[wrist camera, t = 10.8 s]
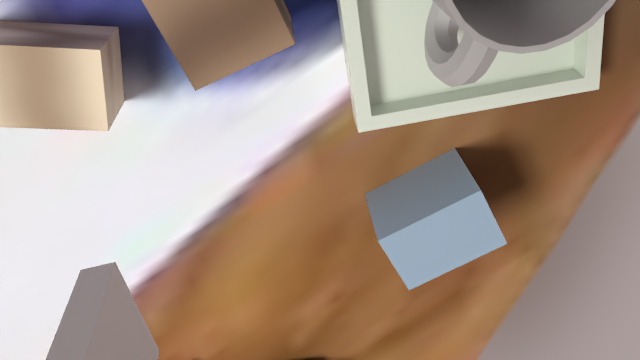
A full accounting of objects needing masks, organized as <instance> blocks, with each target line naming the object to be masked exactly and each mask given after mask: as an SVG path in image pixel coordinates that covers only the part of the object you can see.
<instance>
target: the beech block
mask: <svg viewBox="0 0 640 360" xmlns="http://www.w3.org/2000/svg"><path fill="white" fill-rule="evenodd" d="M124 101H125V99H124V87H123V75H122V63H121V51H120V40H119V28H118V27H110V26H92V25H73V24H55V23H36V22H18V21H0V127H13V128H40V129H67V130H94V131H109V129H110V127H111V125H112V123H113V122H114V120H115V118H116V116H117V114H118V112H119V110H120V109H121V107H122V105H123V103H124Z"/></svg>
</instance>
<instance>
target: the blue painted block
mask: <svg viewBox="0 0 640 360" xmlns="http://www.w3.org/2000/svg"><path fill="white" fill-rule="evenodd" d="M365 197H366V201H367V204H368V208H369V212H370V215H371V219H372V222H373V226H374V229H375V233H376V236H377V240H378V242H379V244H380V245H381V247H382V248H383V250H384V252H385V253H386V255H387V256H388V258H389V259H390V261H391V263H392V264H393V266H394V267H395V269H396V271H397V272H398V274H399V275H400V277H401V278H402V280H403V282H404V283H405V285H406V286H407V288H408V289H409V290H411V289H413V288H415V287H417V286H419V285H421V284H423V283H425V282H427V281H430V280H432V279H434V278H436V277H438V276H440V275H442V274H444V273H446V272H449V271H451V270H453V269H455V268H457V267H459V266H461V265H463V264H465V263H468V262H470V261H472V260H474V259H476V258H478V257H480V256H482V255H484V254H486V253H489V252H491V251H493V250H495V249H497V248H499V247H501V246H503V245H505V244H507V242H506V240H505V238H504V236H503V234H502V232H501V230H500V228H499V226H498V224H497V222H496V220H495V218H494V216H493V214H492V212H491V210H490V208H489V206H488V204H487V202H486V200H485V198H484V195H483V193H482V191H481V190H480V188H479V186H478V185H477V183H476V181H475V180H474V178H473V177H472V175H471V173H470V172H469V170H468V169H467V167H466V165H465V164H464V162H463V160H462V159H461V157H460V156H459V154H458V152H457V151H456V149H455V148H454V149H452V150H450V151H448V152H446V153H444V154H442V155H440V156H438V157H436V158H434V159H432V160H430V161H428V162H426V163H424V164H422V165H421V166H419V167H417V168H415V169H413V170H411V171H409V172H407V173H405V174H403V175H401V176H399V177H397V178H395V179H393V180H391V181H389V182H387V183H385V184H383V185H382V186H380V187H378V188H376V189H374V190H372V191H370V192H368V193H366V194H365Z"/></svg>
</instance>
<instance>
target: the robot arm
mask: <svg viewBox="0 0 640 360" xmlns="http://www.w3.org/2000/svg"><path fill="white" fill-rule="evenodd" d="M158 355H159V349H158V347H157V345H156V343H155V341H154V339H153V337H152V335H151V333H150V331H149V329H148V327H147V325H146V323H145V321H144V319H143V317H142V315H141V313H140V311H139V309H138V307H137V305H136V303H135V301H134V299H133V297H132V295H131V293H130V291H129V289H128V287H127V285H126V283H125V281H124V279H123V277H122V275H121V273H120V271H119V269H118V267H117V265H116V263H115V262H114V263H109V264H105V265H101V266H96V267H92V268H87V269H83V270H81V271H80V273H79V276H78V279H77V281H76V284H75V286H74V289H73V291H72V294H71V296H70V299H69V302H68V304H67V307H66V309H65V312H64V314H63V317H62V319H61V322H60V325H59V327H58V330H57V332H56V335H55V337H54V340H53V342H52V345H51V348H50V350H49V353H48V355H47V358H46V360H158Z"/></svg>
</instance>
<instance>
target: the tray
mask: <svg viewBox="0 0 640 360" xmlns="http://www.w3.org/2000/svg"><path fill="white" fill-rule="evenodd" d="M432 3H433V1H432V0H337V6H338V13H339V20H340V27H341V34H342V40H343V47H344V54H345V61H346V68H347V75H348V82H349V89H350V96H351V103H352V110H353V117H354V120H355V123H356V127H357V130H358V133H360V132H365V131H371V130H376V129H382V128H387V127H393V126H398V125H404V124H409V123H415V122H420V121H426V120H431V119H437V118H442V117H448V116H453V115H459V114H465V113H470V112H476V111H481V110H487V109H492V108H498V107H503V106H509V105H514V104H520V103H525V102H531V101H536V100H542V99H547V98H553V97H558V96H564V95H570V94H575V93H581V92H586V91H592V90H597V89H599V82H600V68H601V55H602V42H603V29H604V16H605V14H604V15H603V16H602V17H601V18H600V19H599V20H598V21H597V22H596V23H595V24H594V25H593V26H592V27H590V28H589V29H587V30H586V31H584V32H583V33H581V34H580V35H578V36H577V37H575V38H574V39H572V40H571V41H569V42H566V43H564V44H561V45H559V46H556V47H554V48H551V49H548V50H546V51H539V52H531V53H524V54H518V53H510V52H503V51H498V53H497V55H496V57H495V59H494V61H493V62H492V64H491V66H490V67H489V69H488V70H487V72H486V73H485V74H484V75H483V76H482V77H481V78H480V79H479V80H478V81H476V82H475V83H472V84H467V85H461V86H456V87H450V86H448V85H446V84H444V83H443V82H442V81H441V80H439V79H438V78H437V77H436V76H434V74H433V73H432V72H431V70H430V69H429V67H428V64H427V61H426V58H425V47H424V40H425V29H426V22H427V18H428V15H429V11H430V8H431V6H432ZM464 32H465V31H464V30H463V29H461V28H460V27H459V29H458V33H457V39H458V45H459V44H460V42H461V39H462V37H463V35H464Z"/></svg>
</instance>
